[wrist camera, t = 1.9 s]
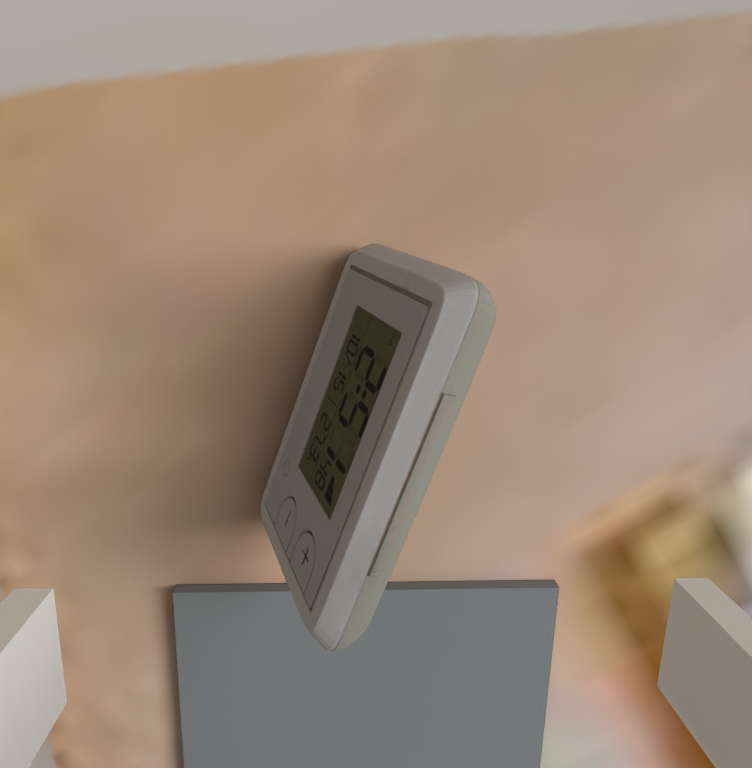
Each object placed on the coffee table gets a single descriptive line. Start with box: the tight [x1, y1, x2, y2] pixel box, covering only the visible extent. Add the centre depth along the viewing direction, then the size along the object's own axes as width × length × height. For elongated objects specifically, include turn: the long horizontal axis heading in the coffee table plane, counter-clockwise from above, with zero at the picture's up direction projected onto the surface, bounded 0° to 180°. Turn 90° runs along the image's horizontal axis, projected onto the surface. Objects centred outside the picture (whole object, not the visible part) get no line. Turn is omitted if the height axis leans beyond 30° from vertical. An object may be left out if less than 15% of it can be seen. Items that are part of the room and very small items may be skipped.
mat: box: [173, 580, 559, 768], centre depth 36 cm, size 22×18×1 cm
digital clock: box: [260, 244, 496, 652], centre depth 27 cm, size 16×9×11 cm, turn 148°
